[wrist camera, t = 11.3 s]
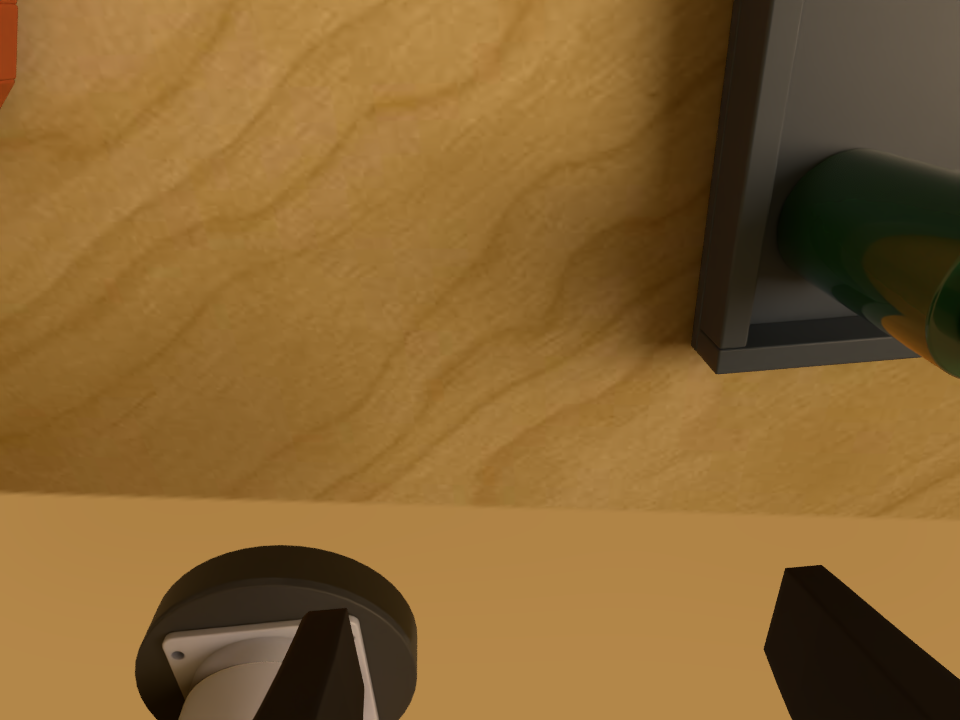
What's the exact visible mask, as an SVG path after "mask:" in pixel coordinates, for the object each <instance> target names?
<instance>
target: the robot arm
mask: <svg viewBox="0 0 960 720" xmlns="http://www.w3.org/2000/svg"><path fill="white" fill-rule="evenodd" d="M162 648H163V650H164V652H165V655H166V657H167V659H168V662H169V664H170V666H171V669H172V671H173V673H174V676H175V678H176V680H177V683H178V685H179V687H180V689H181V692H182V694H183V696H184V699H185V703H184V705H183V708H182V711H181V714H180V717H179V719H178V720H379V717H378V712H377V707H376V702H375V697H374V692H373V687H372V682H371V677H370V672H369V668H368V663H367V658H366V653H365V648H364V643H363V638H362V633H361V628H360V623H359V620H358V619H357V618H356V617H355V616H352V615H348V611H347V608H342V609H331V610H320V611H309V612H308V613H307V614H306V615H305V616H304V617H303V618H302V619H298V620H288V621H278V622H268V623H258V624H248V625H238V626H228V627H218V628H208V629H198V630H188V631H178V632H172V633H169V634H167V635H166V637H165V639H164V641H163V643H162ZM764 651H765V654H766V656H767V659H768V662H769V664H770V667H771V670H772V672H773V674H774V677H775V680H776V683H777V685H778V688H779V690H780V692H781V694H782V697H783V699H784V701H785V704H786V707H787V709H788V711H789V714H790V716H791V718H792V720H960V679H959V678H957V677H956V676H955V675H953V674H952V673H951V672H950V671H949V670H947V669H946V668H945V667H944V666H942V665H941V664H940V663H939V662H937V661H936V660H935V659H934V658H933V657H931V656H930V655H929V654H928V653H926V652H925V651H924V650H923V649H922V648H920V647H919V646H918V645H917V644H915V643H914V642H913V641H912V640H911V639H909V638H908V637H907V636H906V635H905V634H903V633H902V632H901V631H900V630H899V629H897V628H896V627H895V626H894V625H893V624H891V623H890V622H889V621H888V620H886V619H885V618H884V617H883V616H882V615H881V614H880V613H878V612H877V611H876V610H875V609H874V608H872V607H871V606H870V605H869V604H867V602H865V601H864V600H863V599H862V598H860V597H859V596H858V595H857V594H856V593H855V592H853V591H852V590H851V589H850V588H849V587H847V586H846V585H845V584H844V583H843V582H841V581H840V580H839V579H838V578H837V577H836V576H834V575H833V574H832V573H831V572H829V571H828V570H827V569H826V568H825V567H823V566H822V565H816V566H804V567H794V568H785V571H784V575H783V579H782V582H781V586H780V590H779V594H778V597H777V601H776V605H775V609H774V613H773V617H772V620H771V624H770V628H769V631H768V635H767V638H766V642H765V646H764Z"/></svg>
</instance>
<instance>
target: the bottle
mask: <svg viewBox="0 0 960 720" xmlns="http://www.w3.org/2000/svg"><path fill="white" fill-rule="evenodd" d="M777 243H778V248H779V252H780V255H781V257H782V259H783V261H784V263H785V264H786V265H787V267H788V268H789V269H790V270H791V271H792V272H793V273H794V274H796V275H797V276H799V277H800V278H802V279H804V280H805V281H807V282H808V283H810V284H811V285H813V286H814V287H816V288H817V289H819V290H820V291H822V292H823V293H825V294H827V295H828V296H830V297H831V298H833V299H834V300H836V301H837V302H839V303H840V304H842V305H843V306H845V307H846V308H848V309H849V310H851V311H853V312H854V313H856V314H857V315H859V316H860V317H862V318H863V319H865V320H866V321H868V322H869V323H871V324H872V325H874V326H876V327H877V328H879V329H880V330H882V331H883V332H885V333H886V334H888V335H889V336H891V337H892V338H894V339H895V340H897V341H899V342H900V343H902V344H903V345H905V346H906V347H908V348H909V349H911V350H912V351H914V352H915V353H917V354H918V355H920V356H921V357H923V358H925V359H926V360H928V361H929V362H931V363H932V364H934V365H935V366H937V367H938V368H940V369H941V370H943V371H944V372H946V373H948V374H949V375H951V376H953V377H956V378H958V379H960V171H958V170H954V169H950V168H946V167H942V166H939V165H935V164H931V163H927V162H923V161H919V160H916V159H912V158H908V157H904V156H900V155H896V154H893V153H889V152H885V151H881V150H877V149H871V148H858V149H851V150H847V151H844V152H841V153H838V154H836V155H833V156H831V157H829V158H827V159H825V160H823V161H822V162H820V163H819V164H817V165H816V166H814V167H813V168H812V169H811V170H810V171H808V172H807V173H806V174H805V175H804V176H803V177H802V178H801V179H800V180H799V182H798V183H797V184H796V185H795V187H794V188H793V189H792V191H791V192H790V194H789V196H788V197H787V199H786V201H785V203H784V205H783V208H782V210H781V213H780V217H779V221H778V227H777Z"/></svg>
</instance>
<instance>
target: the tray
mask: <svg viewBox="0 0 960 720" xmlns="http://www.w3.org/2000/svg"><path fill="white" fill-rule="evenodd" d="M858 148H871V149H877V150H881V151H885V152H889V153H893V154H896V155H900V156H904V157H908V158H912V159H916V160H919V161H923V162H927V163H931V164H935V165H939V166H942V167H946V168H950V169H954V170H958V171H960V0H734V4H733V12H732V20H731V28H730V36H729V44H728V52H727V60H726V68H725V77H724V85H723V93H722V101H721V109H720V117H719V125H718V133H717V141H716V149H715V157H714V165H713V173H712V181H711V189H710V198H709V206H708V214H707V222H706V230H705V238H704V246H703V254H702V262H701V270H700V278H699V286H698V294H697V302H696V310H695V319H694V327H693V335H692V343H691V346H692V347H693V348H694V350H695V351H697V353H698V354H699V355H700V356H701V357H702V358H703V360H704V361H705V362H706V363H707V364H708V365H709V367H710V368H711V369H712V370H713V371H714V372H715V374H727V373H739V372H751V371H763V370H775V369H787V368H799V367H810V366H822V365H834V364H846V363H858V362H870V361H882V360H894V359H906V358H918V357H921V356H920V355H918V354H917V353H915V352H914V351H912V350H911V349H909V348H908V347H906V346H905V345H903V344H902V343H900V342H899V341H897V340H895V339H894V338H892V337H891V336H889V335H888V334H886V333H885V332H883V331H882V330H880V329H879V328H877V327H876V326H874V325H872V324H871V323H869V322H868V321H866V320H865V319H863V318H862V317H860V316H859V315H857V314H856V313H854V312H853V311H851V310H849V309H848V308H846V307H845V306H843V305H842V304H840V303H839V302H837V301H836V300H834V299H833V298H831V297H830V296H828V295H827V294H825V293H823V292H822V291H820V290H819V289H817V288H816V287H814V286H813V285H811V284H810V283H808V282H807V281H805V280H804V279H802V278H800V277H799V276H797V275H796V274H794V273H793V272H792V271H791V270H790V269H789V268H788V267H787V265H786V264H785V263H784V261H783V259H782V257H781V255H780V252H779V248H778V243H777V227H778V221H779V217H780V213H781V210H782V208H783V205H784V203H785V201H786V199H787V197H788V196H789V194H790V192H791V191H792V189H793V188H794V187H795V185H796V184H797V183H798V182H799V180H800V179H801V178H802V177H803V176H804V175H805V174H806V173H807V172H808V171H810V170H811V169H812V168H813V167H814V166H816V165H817V164H819V163H820V162H822V161H823V160H825V159H827V158H829V157H831V156H833V155H836V154H838V153H841V152H844V151H847V150H851V149H858Z"/></svg>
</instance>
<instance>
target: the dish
mask: <svg viewBox="0 0 960 720" xmlns="http://www.w3.org/2000/svg"><path fill="white" fill-rule="evenodd" d="M16 3H17V0H0V108H1V107H2V105H3V103H4V101H5V99H6V97H7V96H8V94H9V92H10V90H11V88H12V87H13V85H14V83H15V80H14V79H15V78H16V64H17V26H18V7H17V5H16Z"/></svg>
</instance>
